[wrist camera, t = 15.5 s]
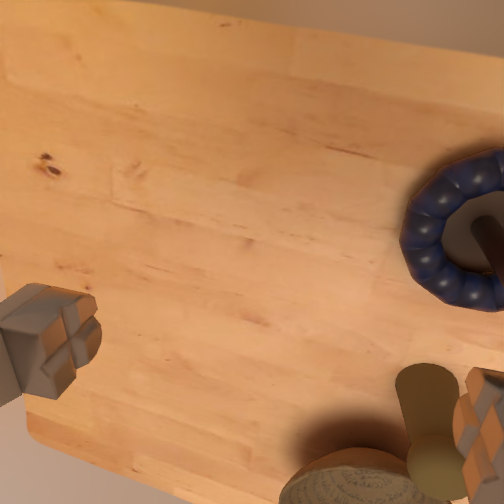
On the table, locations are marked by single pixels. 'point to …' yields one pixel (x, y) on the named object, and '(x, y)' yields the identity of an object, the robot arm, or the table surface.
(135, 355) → the table surface
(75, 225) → the table surface
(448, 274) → the ring
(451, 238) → the post
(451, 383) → the olive game pawn
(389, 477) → the bowl
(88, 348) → the robot arm
